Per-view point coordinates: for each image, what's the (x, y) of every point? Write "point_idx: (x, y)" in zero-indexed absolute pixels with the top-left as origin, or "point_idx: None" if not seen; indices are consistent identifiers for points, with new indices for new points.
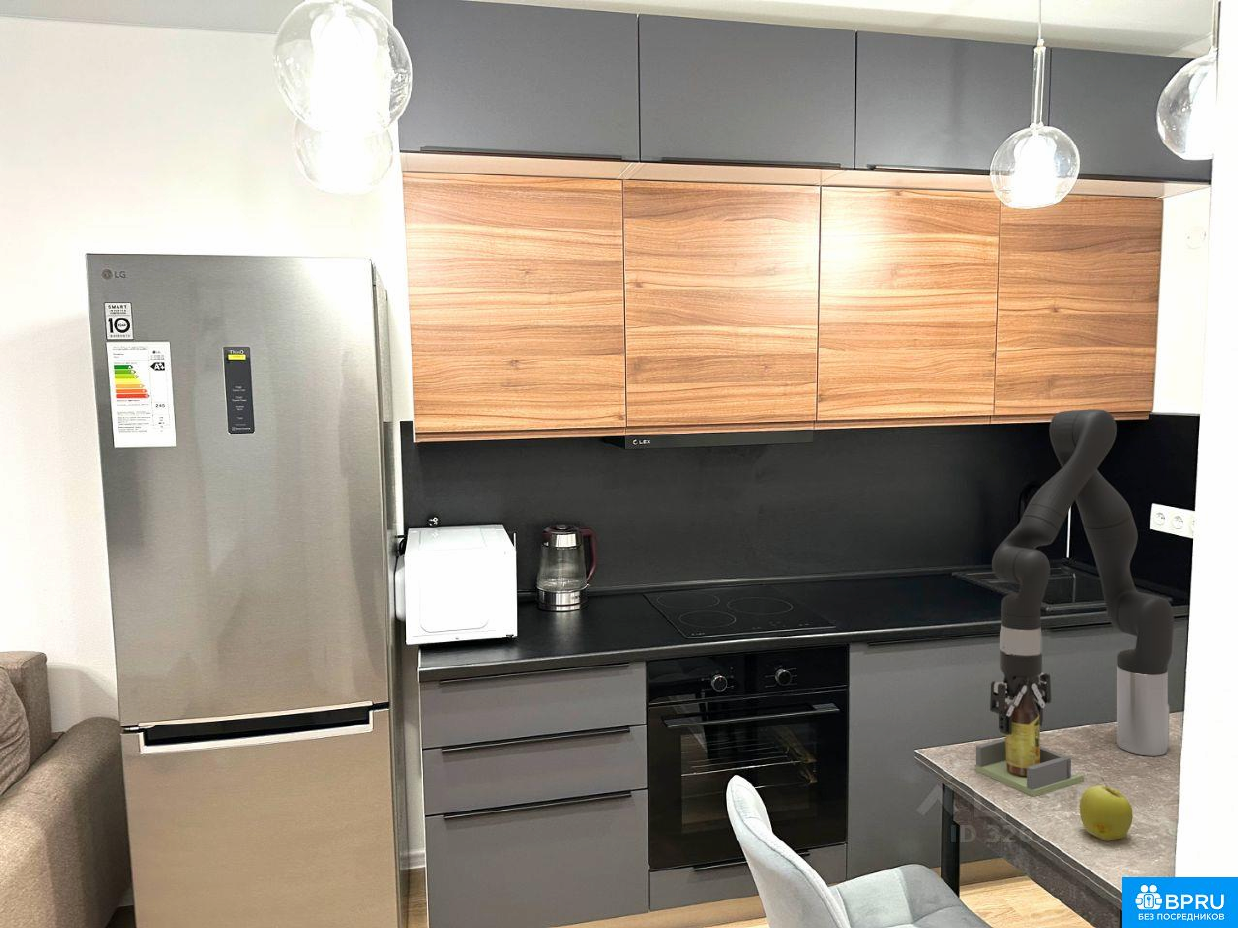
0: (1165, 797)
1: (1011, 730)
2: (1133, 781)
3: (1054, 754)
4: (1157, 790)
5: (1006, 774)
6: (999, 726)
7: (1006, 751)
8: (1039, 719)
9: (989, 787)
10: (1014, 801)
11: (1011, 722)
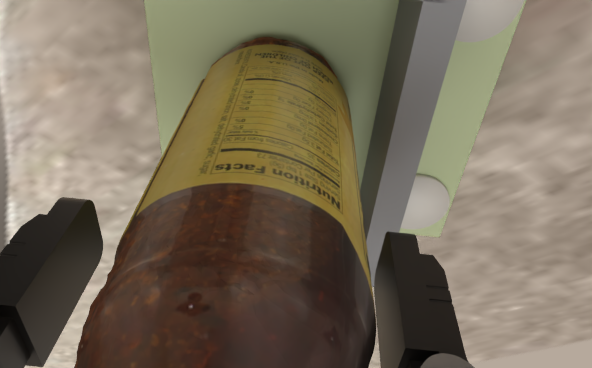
0: (484, 359)
1: (92, 272)
2: (549, 293)
3: (367, 239)
4: (521, 340)
5: (188, 76)
6: (17, 236)
7: (187, 107)
8: (378, 322)
9: (76, 65)
10: (85, 179)
11: (66, 320)
